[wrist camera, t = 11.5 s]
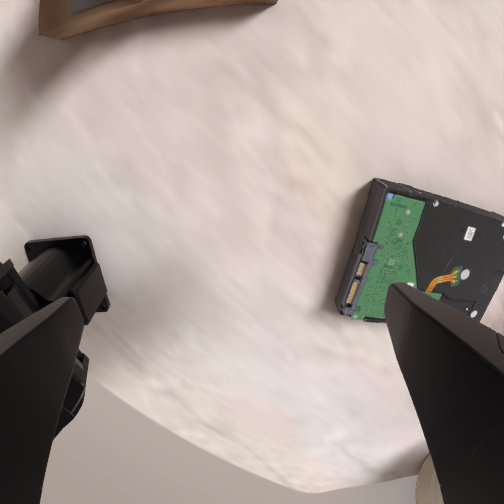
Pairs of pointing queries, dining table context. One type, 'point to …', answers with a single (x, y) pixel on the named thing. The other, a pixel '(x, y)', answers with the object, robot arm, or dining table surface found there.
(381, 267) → the disk drive
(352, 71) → the dining table surface
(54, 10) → the walnut stand
